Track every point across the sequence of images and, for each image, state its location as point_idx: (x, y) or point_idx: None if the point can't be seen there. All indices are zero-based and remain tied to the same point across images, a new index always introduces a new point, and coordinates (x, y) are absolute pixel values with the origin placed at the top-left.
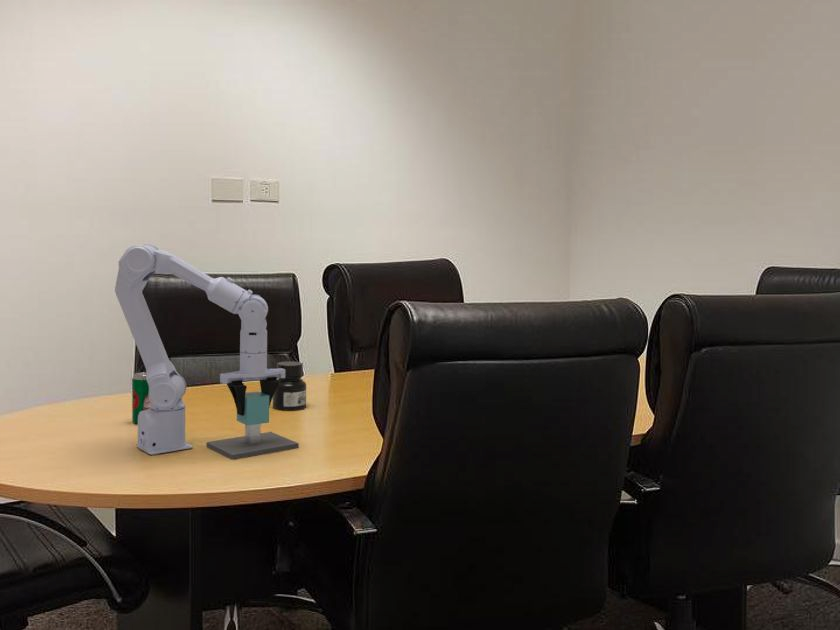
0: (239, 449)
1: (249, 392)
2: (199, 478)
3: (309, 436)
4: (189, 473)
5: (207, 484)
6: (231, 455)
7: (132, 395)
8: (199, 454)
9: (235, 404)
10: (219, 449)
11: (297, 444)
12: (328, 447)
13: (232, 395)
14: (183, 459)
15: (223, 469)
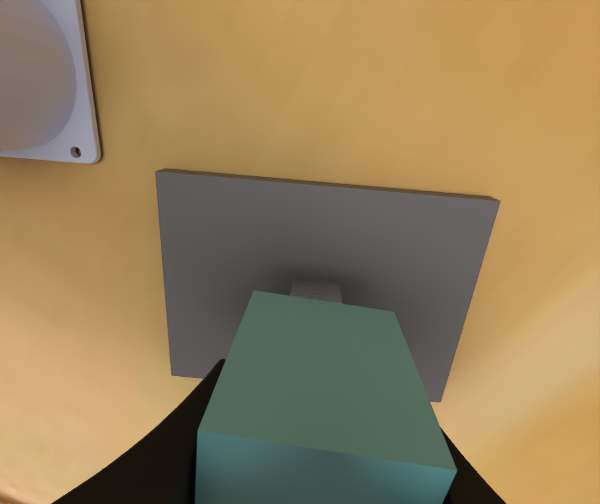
0: (223, 340)
1: (341, 455)
2: (36, 432)
3: (596, 304)
4: (20, 389)
5: (43, 471)
6: (172, 368)
7: None
8: (103, 247)
9: (187, 397)
10: (166, 287)
11: (434, 398)
12: (509, 439)
13: (126, 453)
14: (34, 265)
15: (118, 414)
